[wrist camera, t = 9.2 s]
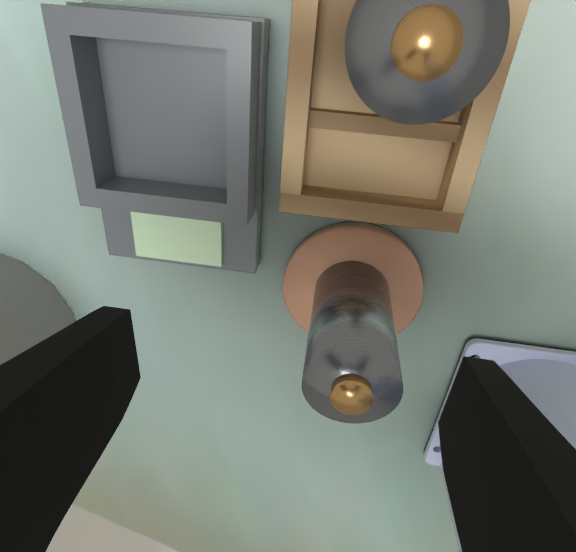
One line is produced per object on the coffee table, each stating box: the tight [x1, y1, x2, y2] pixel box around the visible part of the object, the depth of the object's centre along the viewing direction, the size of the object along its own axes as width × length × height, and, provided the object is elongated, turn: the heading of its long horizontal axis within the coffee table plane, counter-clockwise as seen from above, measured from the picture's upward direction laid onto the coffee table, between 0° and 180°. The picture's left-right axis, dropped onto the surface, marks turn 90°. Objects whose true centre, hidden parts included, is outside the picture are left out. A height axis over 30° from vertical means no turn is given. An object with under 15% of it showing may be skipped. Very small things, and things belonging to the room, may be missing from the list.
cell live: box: [344, 0, 510, 125], centre depth 11 cm, size 3×3×6 cm
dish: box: [283, 222, 424, 335], centre depth 20 cm, size 6×6×1 cm
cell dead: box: [302, 261, 403, 423], centre depth 17 cm, size 3×3×6 cm
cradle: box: [41, 2, 269, 273], centre depth 17 cm, size 10×7×3 cm
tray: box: [279, 0, 531, 233], centre depth 15 cm, size 10×7×2 cm
